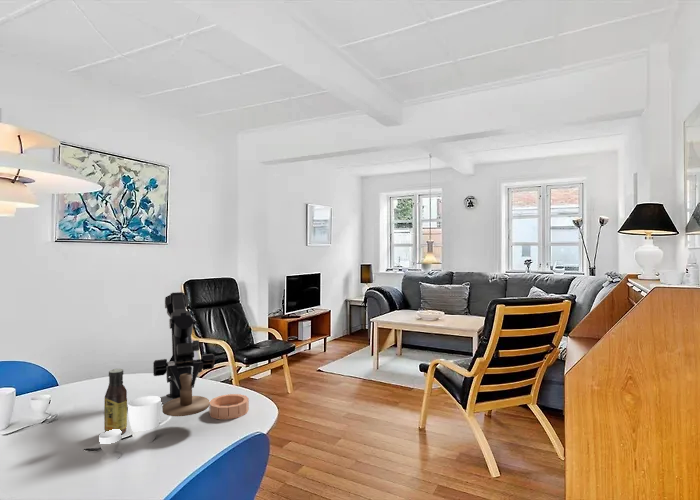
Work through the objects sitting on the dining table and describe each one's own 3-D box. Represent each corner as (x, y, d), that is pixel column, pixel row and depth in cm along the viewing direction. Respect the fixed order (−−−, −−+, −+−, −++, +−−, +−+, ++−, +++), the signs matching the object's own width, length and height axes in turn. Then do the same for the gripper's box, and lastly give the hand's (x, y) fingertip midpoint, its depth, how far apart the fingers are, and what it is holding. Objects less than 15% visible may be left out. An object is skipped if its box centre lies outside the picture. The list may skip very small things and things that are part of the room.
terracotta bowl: (201, 414, 148) (201, 403, 148) (229, 402, 159) (229, 391, 159) (228, 422, 142) (228, 410, 142) (255, 409, 153) (255, 398, 153)
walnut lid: (152, 412, 133) (151, 378, 133) (185, 397, 146) (185, 366, 146) (186, 419, 128) (186, 384, 128) (218, 403, 141) (218, 371, 140)
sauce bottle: (101, 433, 134) (100, 370, 134) (122, 427, 138) (122, 366, 138) (108, 439, 129) (107, 374, 129) (130, 433, 134) (129, 369, 134)
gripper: (153, 335, 136) (154, 379, 126) (213, 329, 144) (219, 371, 134) (152, 354, 143) (154, 397, 133) (210, 348, 151) (215, 388, 142)
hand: (186, 388), depth 136 cm, fingers closed on walnut lid, 4 cm apart
